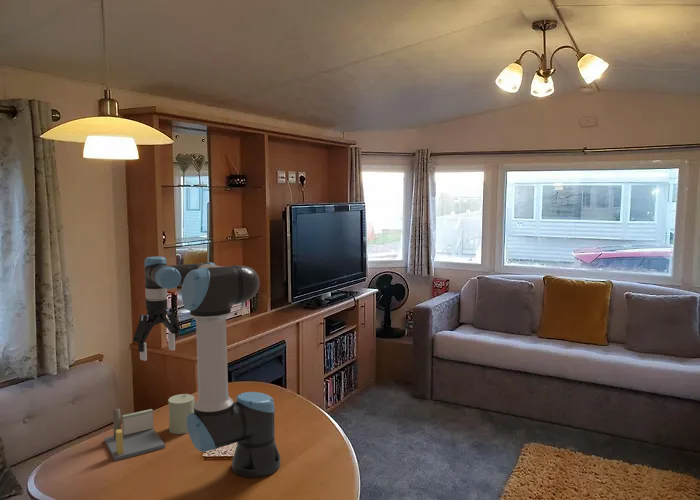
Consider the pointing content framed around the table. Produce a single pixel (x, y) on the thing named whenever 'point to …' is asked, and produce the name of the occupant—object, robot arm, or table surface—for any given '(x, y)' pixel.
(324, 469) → the table surface
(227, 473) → the table surface
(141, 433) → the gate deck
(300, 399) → the table surface
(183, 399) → the can
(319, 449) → the table surface
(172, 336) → the robot arm
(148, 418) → the white framed panel
